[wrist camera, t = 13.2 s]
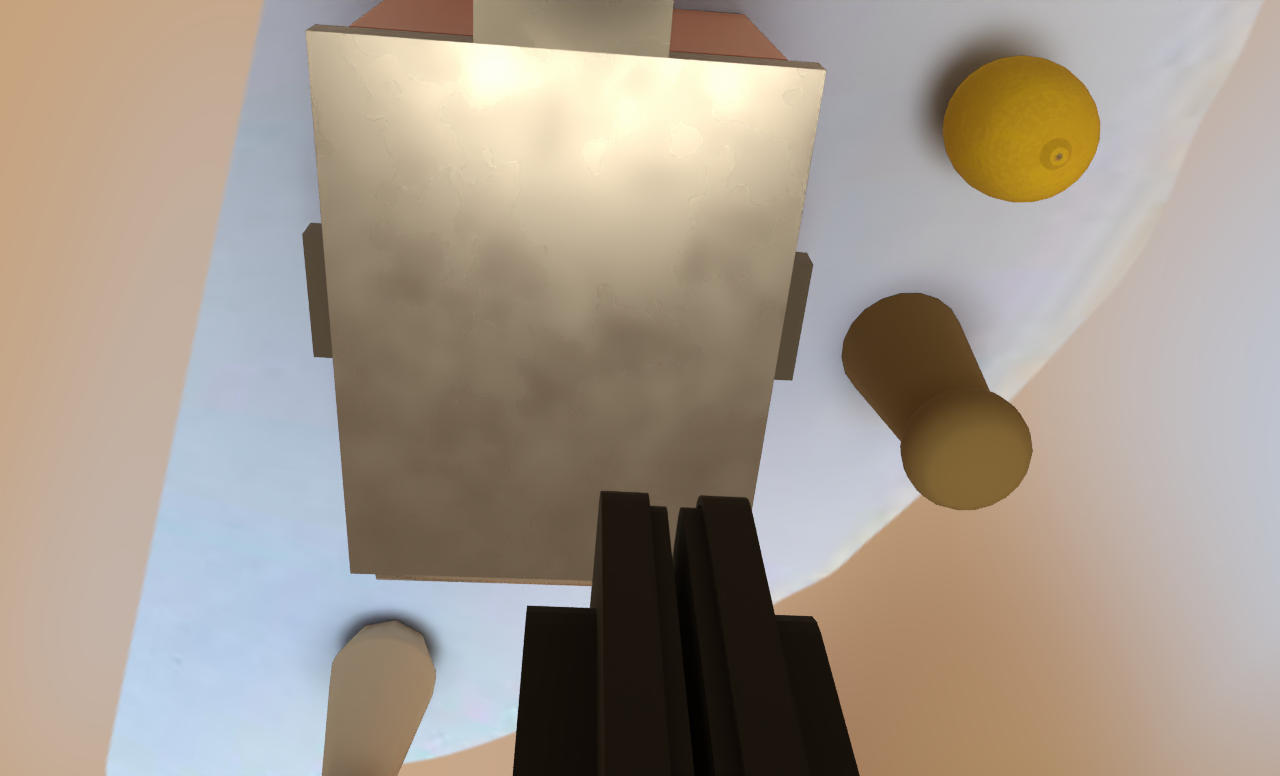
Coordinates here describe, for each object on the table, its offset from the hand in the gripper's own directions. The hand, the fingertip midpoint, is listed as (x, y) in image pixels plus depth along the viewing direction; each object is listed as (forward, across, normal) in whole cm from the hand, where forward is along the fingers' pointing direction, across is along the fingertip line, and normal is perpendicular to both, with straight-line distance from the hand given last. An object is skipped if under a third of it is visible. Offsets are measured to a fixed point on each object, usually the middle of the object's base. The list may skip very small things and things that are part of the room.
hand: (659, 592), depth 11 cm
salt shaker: (+32, +10, +35) cm, 49 cm away
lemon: (+34, -16, +2) cm, 38 cm away
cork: (+33, -16, +14) cm, 39 cm away
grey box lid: (+23, +1, +8) cm, 25 cm away
